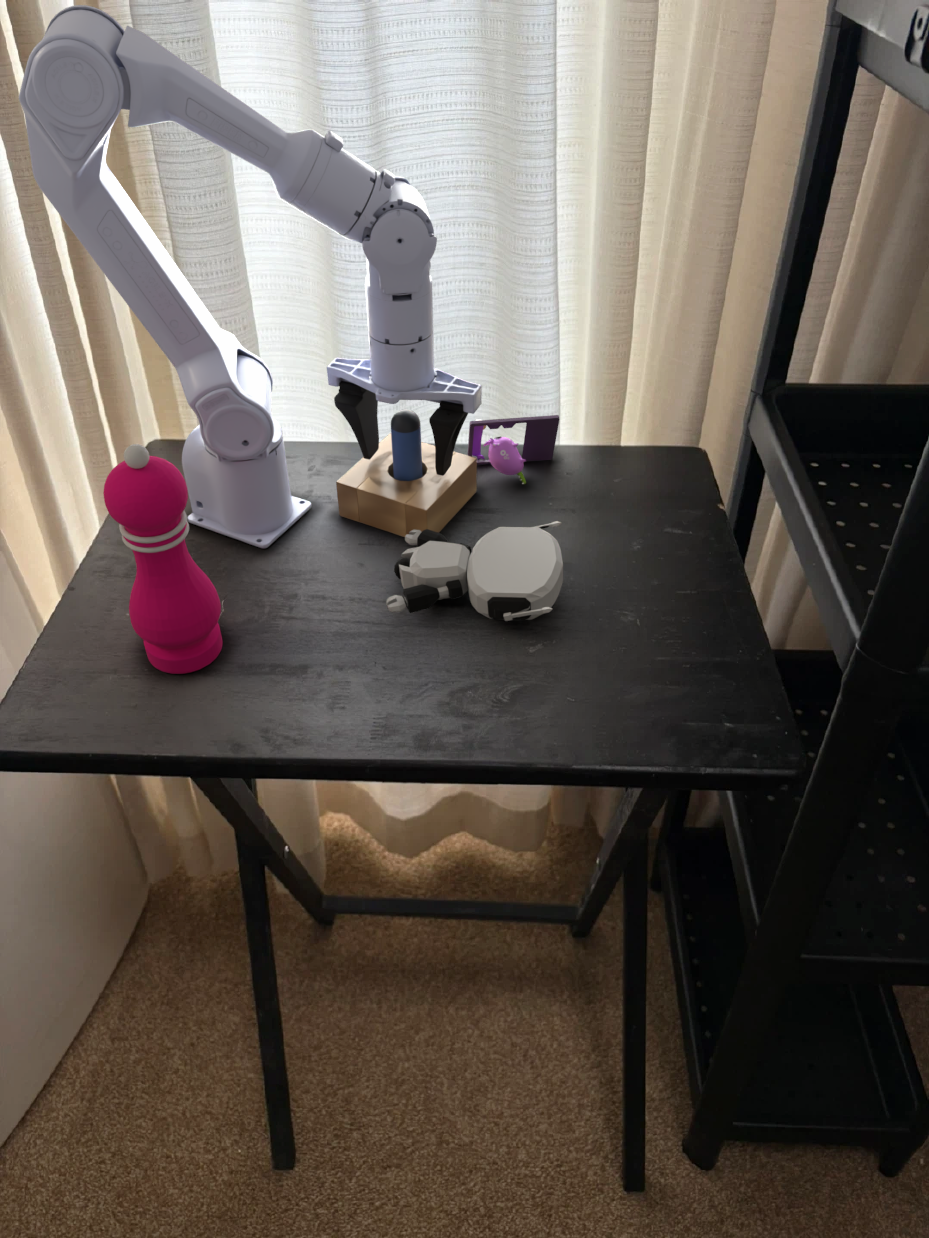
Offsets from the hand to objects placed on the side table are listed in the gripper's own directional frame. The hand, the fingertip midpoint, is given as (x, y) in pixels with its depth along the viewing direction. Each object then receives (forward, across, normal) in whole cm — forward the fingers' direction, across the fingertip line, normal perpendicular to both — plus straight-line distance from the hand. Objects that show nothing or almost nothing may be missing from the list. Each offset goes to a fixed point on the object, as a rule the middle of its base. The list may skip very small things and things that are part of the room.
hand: (407, 461), depth 99 cm
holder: (+5, 0, 0) cm, 5 cm away
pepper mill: (+5, -9, -26) cm, 28 cm away
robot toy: (+5, +11, -10) cm, 16 cm away
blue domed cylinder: (+5, 0, 0) cm, 5 cm away
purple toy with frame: (+5, +8, +9) cm, 13 cm away
